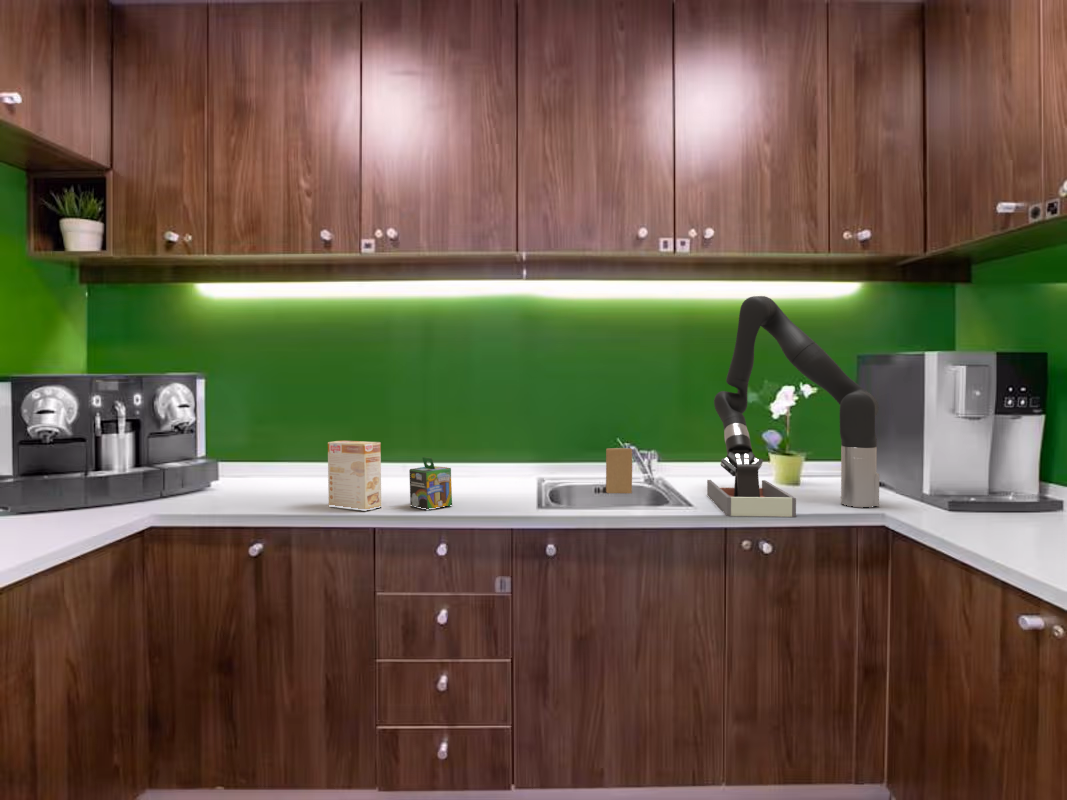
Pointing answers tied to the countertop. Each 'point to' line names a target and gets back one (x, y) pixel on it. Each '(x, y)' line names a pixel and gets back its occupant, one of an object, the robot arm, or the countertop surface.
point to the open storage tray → (753, 501)
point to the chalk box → (430, 486)
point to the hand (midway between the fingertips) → (745, 486)
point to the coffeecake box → (354, 474)
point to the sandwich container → (619, 470)
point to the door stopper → (746, 480)
